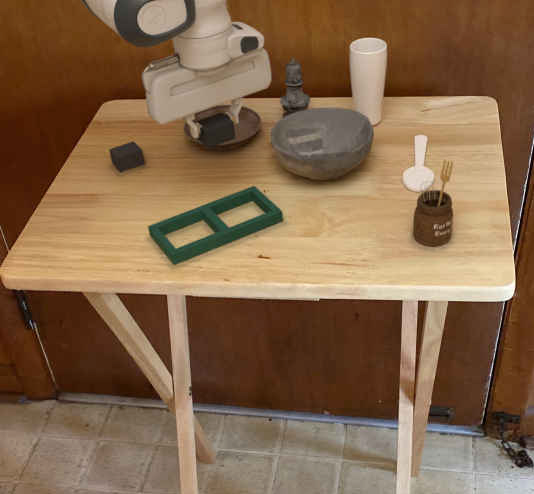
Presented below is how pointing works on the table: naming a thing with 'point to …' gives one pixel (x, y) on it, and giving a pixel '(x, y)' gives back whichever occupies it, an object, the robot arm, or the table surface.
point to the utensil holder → (434, 213)
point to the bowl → (322, 141)
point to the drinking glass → (368, 76)
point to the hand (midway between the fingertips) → (215, 129)
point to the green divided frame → (215, 224)
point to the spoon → (418, 168)
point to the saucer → (243, 129)
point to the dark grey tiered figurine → (294, 90)
